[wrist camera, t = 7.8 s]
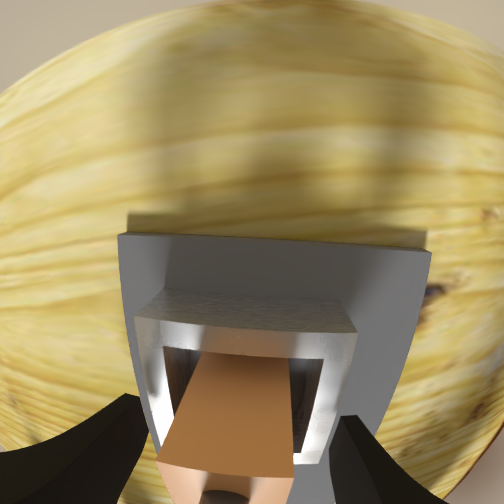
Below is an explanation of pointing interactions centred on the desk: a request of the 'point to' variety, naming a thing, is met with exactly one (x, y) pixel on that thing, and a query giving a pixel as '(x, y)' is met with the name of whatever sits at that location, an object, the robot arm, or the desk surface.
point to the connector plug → (231, 433)
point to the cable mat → (294, 286)
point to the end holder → (248, 351)
